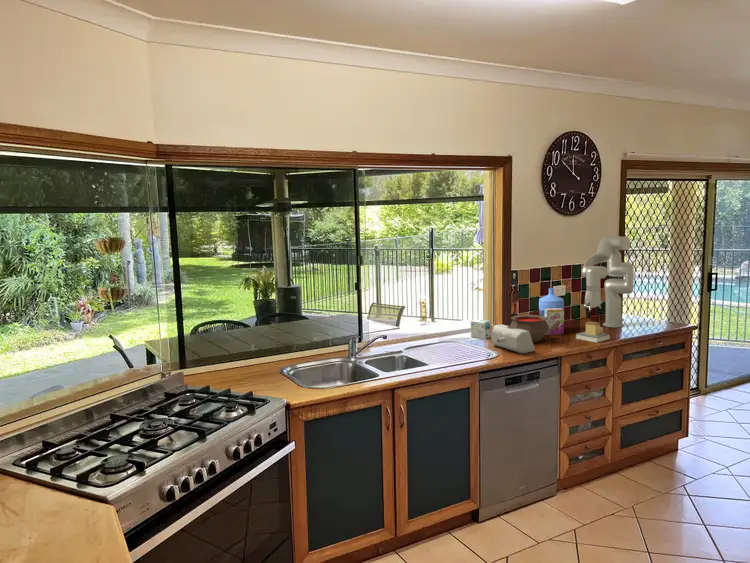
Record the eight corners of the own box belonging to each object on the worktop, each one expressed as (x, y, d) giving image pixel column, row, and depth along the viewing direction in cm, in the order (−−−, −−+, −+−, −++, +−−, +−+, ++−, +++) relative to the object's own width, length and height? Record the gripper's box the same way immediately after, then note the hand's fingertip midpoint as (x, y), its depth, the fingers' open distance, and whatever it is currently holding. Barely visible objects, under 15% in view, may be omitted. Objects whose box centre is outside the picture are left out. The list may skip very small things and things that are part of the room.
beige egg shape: (597, 334, 333) (597, 326, 332) (604, 335, 329) (604, 327, 328) (592, 335, 330) (592, 327, 330) (599, 336, 326) (600, 328, 326)
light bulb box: (490, 337, 336) (490, 320, 334) (485, 339, 331) (484, 322, 330) (476, 335, 343) (475, 319, 342) (470, 337, 338) (470, 320, 337)
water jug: (558, 327, 356) (558, 286, 352) (567, 332, 340) (567, 289, 337) (535, 328, 355) (535, 287, 352) (543, 333, 340) (543, 290, 336)
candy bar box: (546, 335, 335) (546, 309, 333) (544, 333, 340) (544, 308, 338) (564, 334, 335) (564, 309, 333) (562, 333, 340) (562, 307, 338)
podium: (588, 335, 330) (588, 330, 330) (609, 339, 319) (609, 334, 319) (575, 338, 323) (575, 333, 323) (596, 342, 312) (597, 337, 311)
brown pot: (531, 346, 309) (531, 319, 307) (500, 339, 329) (500, 313, 327) (557, 340, 322) (557, 313, 320) (526, 333, 342) (526, 308, 340)
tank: (484, 347, 313) (484, 326, 311) (506, 343, 320) (506, 322, 318) (513, 356, 290) (512, 333, 289) (535, 351, 297) (535, 330, 296)
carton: (589, 332, 325) (590, 321, 324) (599, 334, 319) (600, 322, 318) (585, 333, 322) (585, 322, 321) (595, 335, 317) (595, 323, 316)
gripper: (595, 285, 325) (595, 313, 328) (578, 290, 316) (579, 318, 318) (607, 287, 319) (607, 314, 322) (590, 291, 309) (590, 319, 312)
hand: (593, 316), depth 320 cm, fingers open, 9 cm apart
